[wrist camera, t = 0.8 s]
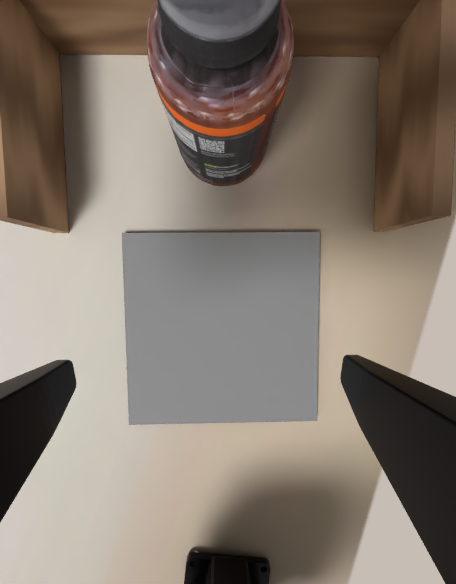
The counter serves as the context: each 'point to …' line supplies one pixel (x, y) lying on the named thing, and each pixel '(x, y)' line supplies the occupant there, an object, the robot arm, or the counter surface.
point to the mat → (221, 326)
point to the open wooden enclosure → (307, 42)
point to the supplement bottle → (221, 79)
